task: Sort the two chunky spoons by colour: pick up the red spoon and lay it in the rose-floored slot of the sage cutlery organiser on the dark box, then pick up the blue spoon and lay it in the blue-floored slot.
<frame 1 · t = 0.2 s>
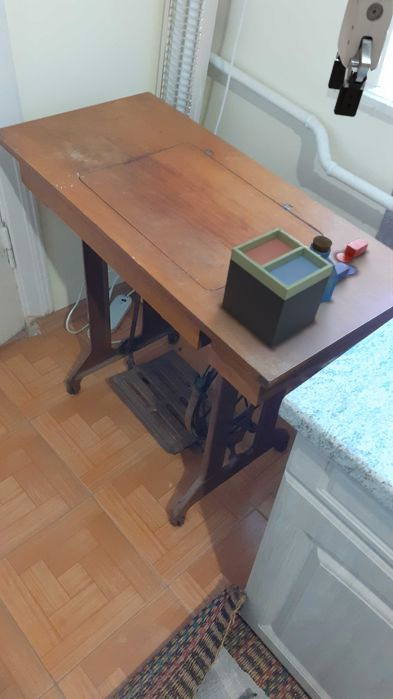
hand: (340, 101, 82), 30 cm above the table, tool pointing down, fingers open, 9 cm apart
riser: (266, 318, 92), on the table
blue spoon: (339, 277, 102), on the table
organiser: (280, 266, 84), resting on riser
red spoon: (348, 258, 106), on the table
perfume bottle: (304, 297, 97), on the table
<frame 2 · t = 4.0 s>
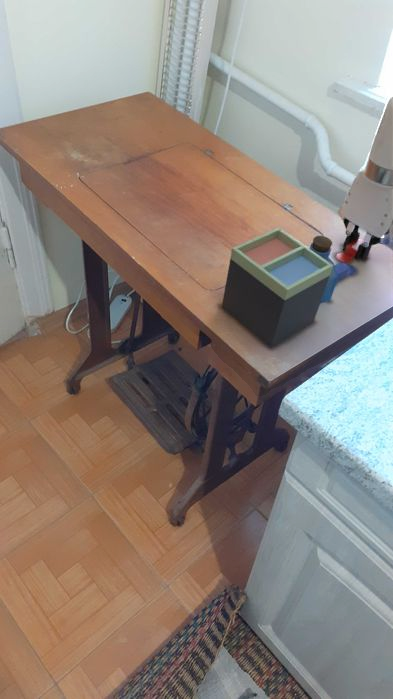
hand: (353, 254, 107), 0 cm above the table, tool pointing down, fingers closed on red spoon, 2 cm apart
red spoon: (348, 258, 106), on the table, touching gripper
everything else where it was.
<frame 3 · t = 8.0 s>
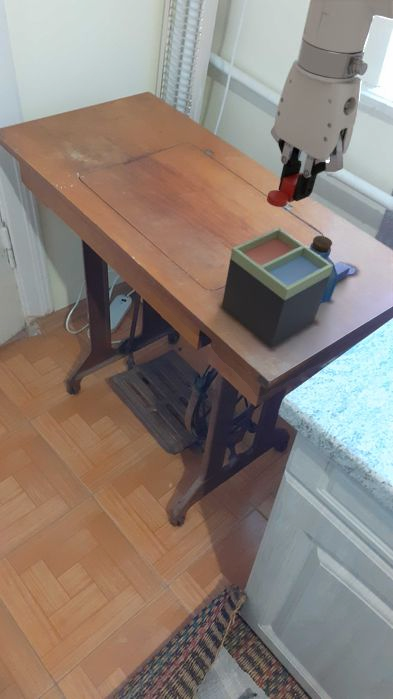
hand: (294, 192, 79), 22 cm above the table, tool pointing down, fingers closed on red spoon
red spoon: (286, 198, 78), point 21 cm above the table, touching gripper
everything else where it was.
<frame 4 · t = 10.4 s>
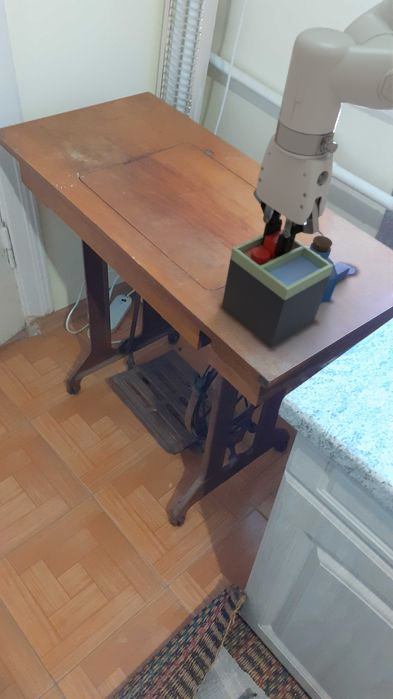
hand: (276, 247, 85), 12 cm above the table, tool pointing down, fingers closed on red spoon, 2 cm apart
red spoon: (268, 253, 85), point 12 cm above the table, touching gripper
everything else where it was.
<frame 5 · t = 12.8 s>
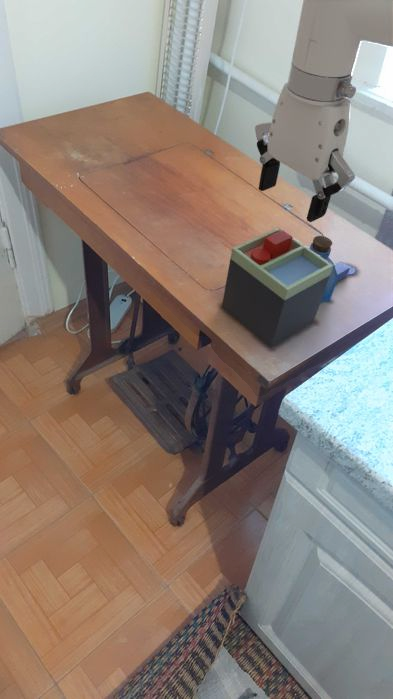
hand: (290, 202, 79), 20 cm above the table, tool pointing down, fingers open, 9 cm apart
red spoon: (268, 254, 85), point 11 cm above the table, touching organiser
everything else where it was.
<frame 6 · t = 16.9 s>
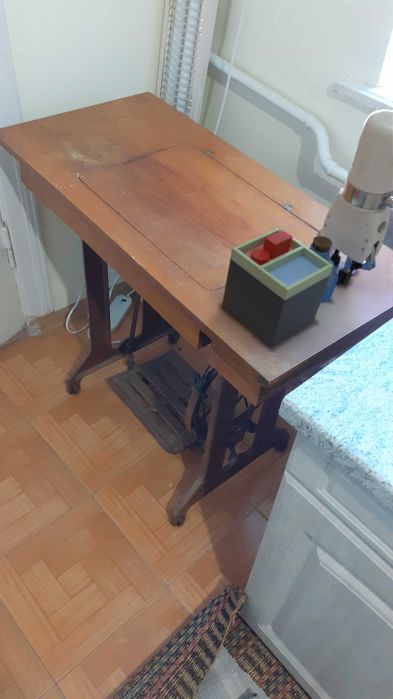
hand: (334, 279, 101), 0 cm above the table, tool pointing down, fingers closed on blue spoon, 2 cm apart
blue spoon: (339, 277, 102), on the table, touching gripper
everything else where it was.
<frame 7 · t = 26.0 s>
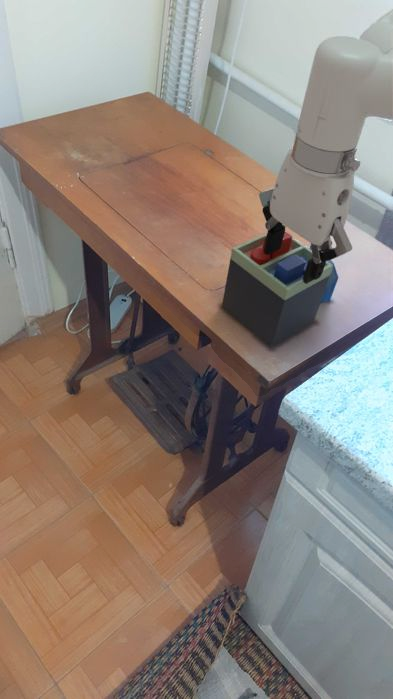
hand: (290, 264, 80), 14 cm above the table, tool pointing down, fingers open, 7 cm apart
blue spoon: (294, 273, 82), point 11 cm above the table, touching organiser
red spoon: (268, 254, 85), point 12 cm above the table, touching gripper, organiser
everything else where it was.
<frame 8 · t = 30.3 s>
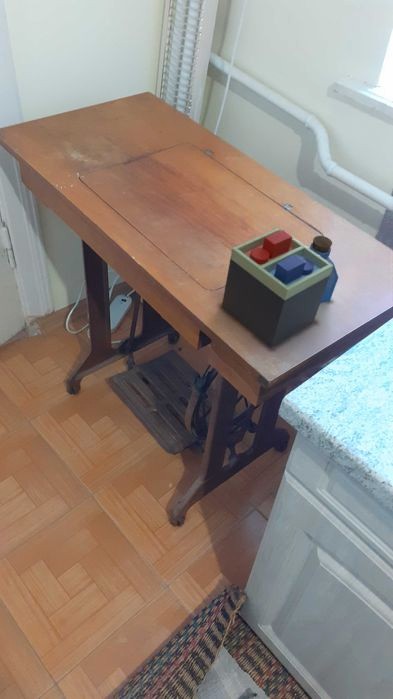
red spoon: (268, 254, 85), point 11 cm above the table, touching organiser
everything else where it was.
at the end: red spoon 0.1 cm from the target spot on the organiser, point 0.5 cm above the organiser's base; blue spoon 0.1 cm from the target spot on the organiser, point 0.5 cm above the organiser's base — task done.
